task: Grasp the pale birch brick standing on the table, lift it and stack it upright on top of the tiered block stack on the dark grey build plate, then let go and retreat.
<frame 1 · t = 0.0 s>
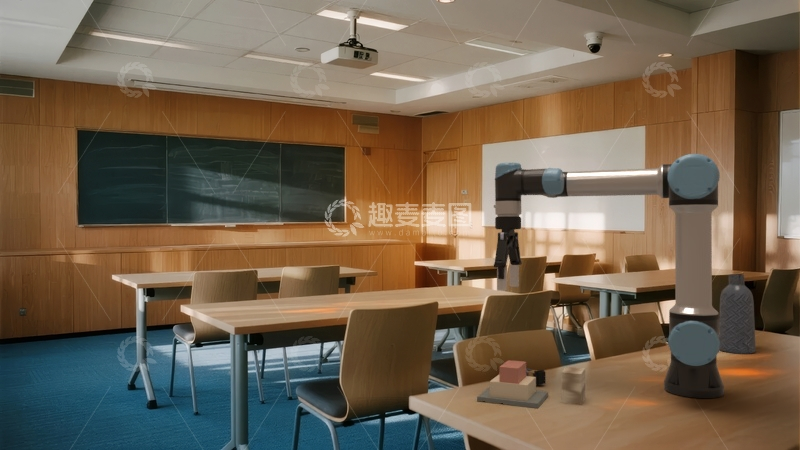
hand: (508, 288, 185), 28 cm above the table, fingers open, 13 cm apart
vase: (736, 351, 235), on the table
toy: (523, 382, 189), on the table
tiered block stack: (513, 398, 170), on the table
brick: (573, 400, 168), on the table
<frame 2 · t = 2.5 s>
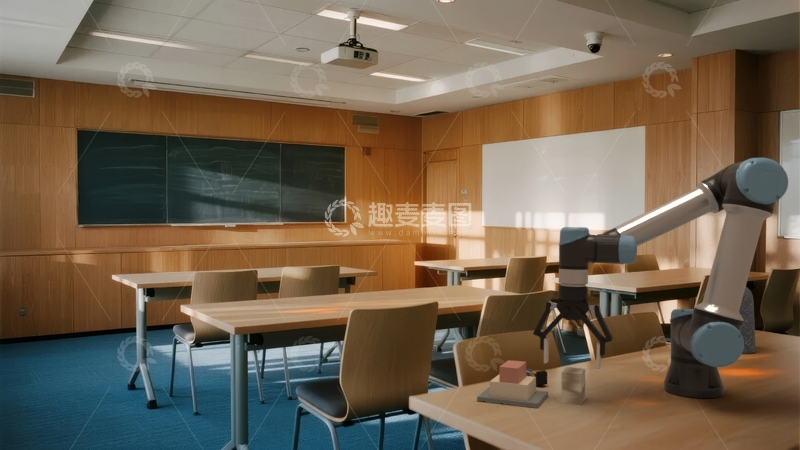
hand: (571, 365, 168), 9 cm above the table, fingers open, 13 cm apart
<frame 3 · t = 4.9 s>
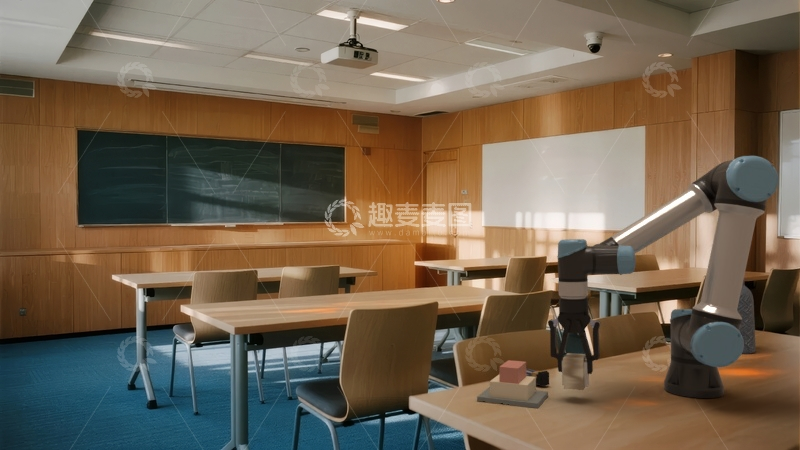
hand: (575, 384, 168), 4 cm above the table, fingers closed on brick, 5 cm apart
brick: (575, 386, 168), point 4 cm above the table, touching gripper
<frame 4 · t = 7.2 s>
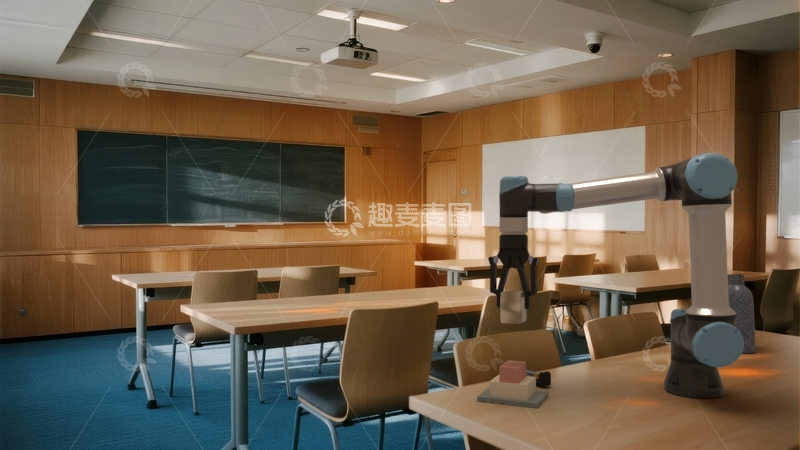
hand: (513, 320, 170), 21 cm above the table, fingers closed on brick, 5 cm apart
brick: (513, 321, 170), point 21 cm above the table, touching gripper
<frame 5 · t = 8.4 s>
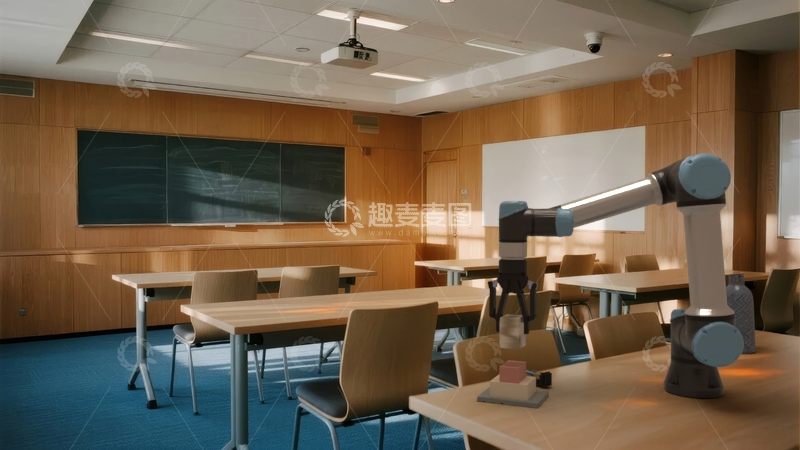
hand: (512, 345, 170), 14 cm above the table, fingers closed on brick, 5 cm apart
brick: (512, 346, 170), point 14 cm above the table, touching gripper
when the fingers open (10 cm above the table, at t = 9.5 s): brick stays where it is, resting on tiered block stack.
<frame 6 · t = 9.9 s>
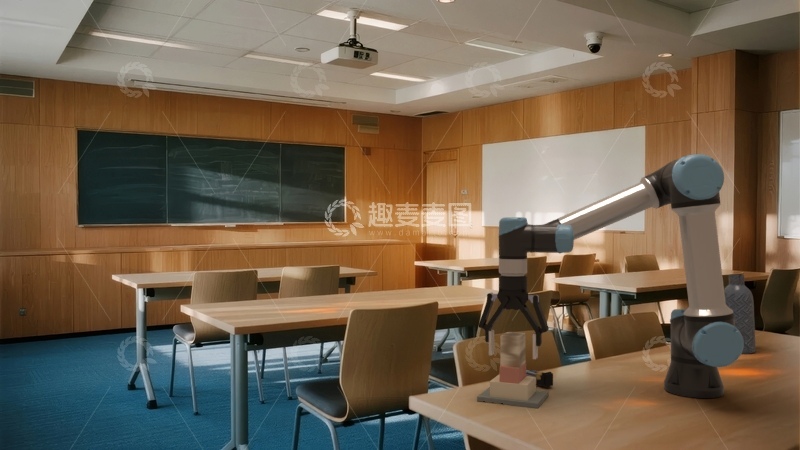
hand: (513, 356, 170), 11 cm above the table, fingers open, 11 cm apart
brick: (513, 364, 170), point 9 cm above the table, touching tiered block stack
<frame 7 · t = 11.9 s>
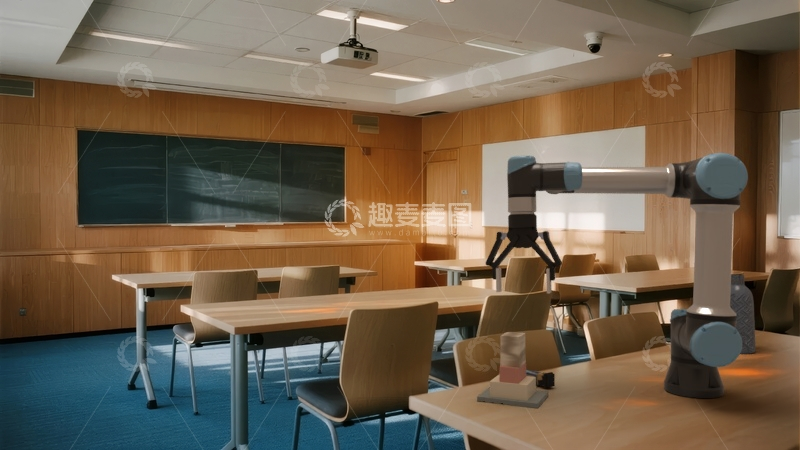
hand: (523, 292, 170), 28 cm above the table, fingers open, 13 cm apart
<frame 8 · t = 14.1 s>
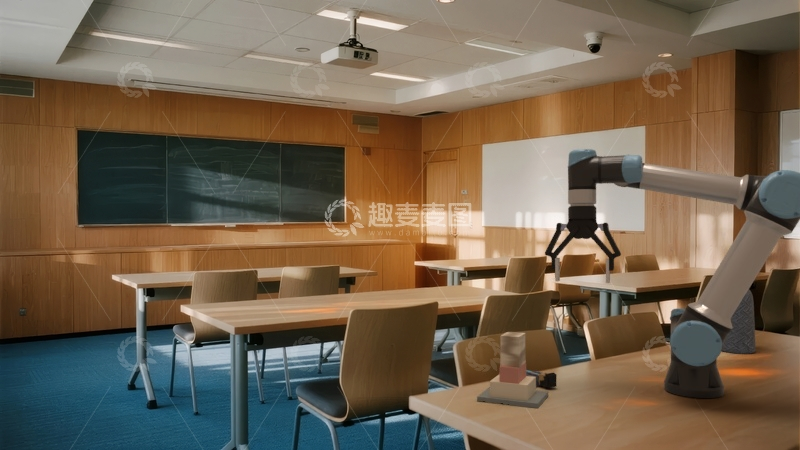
hand: (582, 282, 176), 31 cm above the table, fingers open, 13 cm apart
at the end: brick inside the target area on the tiered block stack (0.0 cm from its centre), point 9.2 cm above the tiered block stack's base; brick tilted 0°; the gripper is holding nothing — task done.
